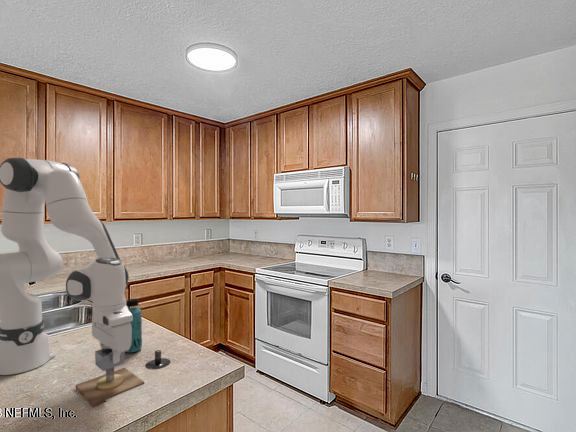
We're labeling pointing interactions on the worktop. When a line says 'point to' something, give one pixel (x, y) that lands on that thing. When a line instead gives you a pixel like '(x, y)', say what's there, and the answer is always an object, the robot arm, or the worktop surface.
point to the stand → (157, 361)
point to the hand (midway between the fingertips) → (110, 358)
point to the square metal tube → (107, 359)
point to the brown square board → (108, 385)
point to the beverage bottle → (135, 325)
